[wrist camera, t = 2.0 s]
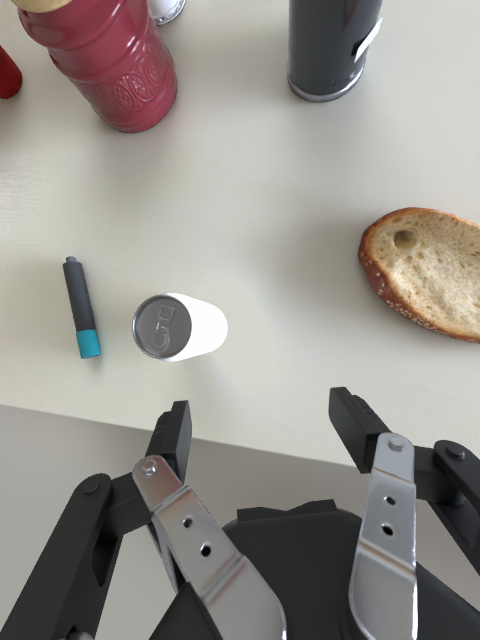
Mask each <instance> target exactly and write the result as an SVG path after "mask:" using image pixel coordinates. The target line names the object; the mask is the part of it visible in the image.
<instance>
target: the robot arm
mask: <svg viewBox="0 0 480 640" xmlns="http://www.w3.org/2000/svg"><path fill="white" fill-rule="evenodd" d="M382 1H383V0H289V40H288V64H287V76H288V81H289V84H290V86H291V88H292V89H293V91H294V92H295V93H296V94H297V95H299V96H300V97H302V98H303V99H306V100H309V101H313V102H325V101H330V100H333V99H336V98H338V97H340V96H342V95H344V94H345V93H347V92H348V91H349V90H350V89H351V88H352V87H353V86H354V85H355V84H356V82H357V81H358V79H359V78H360V76H361V74H362V71H363V68H364V64H365V61H366V55H367V51H368V48H369V45H370V42H371V41H372V39H373V38H374V37H375V35H376V34H377V33H378V31H379V28H380V24H381V21H382V18H383V17H382V18H381V19H380V21H379V22H378V23H377V25H376V21H377V18H378V15H379V11H380V8H381V4H382ZM375 25H376V26H375ZM329 417H330V421H331V423H332V424H333V426H334V428H335V430H336V431H337V433H338V435H339V437H340V438H341V440H342V442H343V443H344V445H345V447H346V449H347V450H348V452H349V454H350V456H351V457H352V459H353V461H354V462H355V464H356V466H357V468H358V469H359V471H360V473H361V474H365V473H370V474H371V477H370V482H369V487H368V493H367V498H366V503H365V508H364V513H363V518H360V517H359V516H357V515H355V514H353V513H351V512H349V511H346V510H343V509H339V508H337V507H336V505H335V503H334V500H333V499H330V500H321V501H312V502H308V503H305V504H303V505H301V506H298V507H296V508H293V509H291V510H288V511H283V510H276V509H270V508H264V507H257V508H247V509H237V517H238V518H237V519H235V520H233V521H231V522H230V523H228V524H226V525H225V526H224V527H222V528H221V527H220V526H219V525H218V523H217V522H216V520H215V519H214V518H213V516H212V515H211V514H210V512H209V511H208V510H207V508H206V507H205V506H204V504H203V503H202V501H201V500H200V499H199V498H198V496H197V495H196V493H195V492H194V491H193V489H192V488H191V487H190V486H186V487H184V480H185V474H186V467H187V461H188V455H189V449H190V442H191V436H192V422H191V415H190V409H189V402H188V400H185V401H174V403H173V406H172V410H171V411H168V412H164V413H163V414H162V415H161V416H160V417H159V419H158V421H157V424H156V428H155V429H154V432H153V435H152V438H151V441H150V444H149V447H148V449H147V452H146V455H145V458H143V459H142V460H140V461H139V462H138V463H137V464H136V465H135V467H134V468H133V471H132V472H130V473H128V474H126V475H123V476H121V477H118V478H115V479H113V480H111V478H110V477H109V476H108V475H107V474H102V473H100V474H95V475H93V476H90V477H88V478H87V479H85V480H84V481H82V482H81V483H80V484H79V485H78V486H77V488H76V489H75V490H74V492H73V494H72V496H71V498H70V500H69V502H68V504H67V505H66V507H65V509H64V511H63V513H62V515H61V517H60V519H59V521H58V523H57V525H56V527H55V528H54V530H53V533H52V534H51V536H50V538H49V540H48V542H47V544H46V546H45V548H44V550H43V552H42V554H41V555H40V557H39V559H38V561H37V563H36V565H35V567H34V569H33V571H32V573H31V575H30V576H29V579H28V580H27V582H26V585H25V586H24V588H23V590H22V592H21V594H20V596H19V598H18V599H17V601H16V603H15V605H14V607H13V609H12V611H11V613H10V615H9V617H8V619H7V621H6V623H5V624H4V626H3V628H2V630H1V632H0V640H94V639H95V635H96V632H97V628H98V625H99V621H100V617H101V614H102V610H103V607H104V603H105V600H106V596H107V592H108V589H109V585H110V582H111V578H112V574H113V571H114V567H115V564H116V560H117V557H118V553H119V549H120V546H121V542H122V538H123V535H124V534H126V533H128V532H131V531H133V530H135V529H137V528H139V527H142V526H144V525H146V527H147V529H148V532H149V534H150V536H151V538H152V540H153V542H154V544H155V546H156V548H157V551H158V553H159V555H160V557H161V559H162V561H163V564H164V566H165V569H166V572H167V575H168V577H169V580H170V582H171V584H172V587H173V589H174V591H175V593H176V597H175V599H174V600H173V602H172V603H171V605H170V606H169V608H168V610H167V611H166V613H165V614H164V616H163V618H162V619H161V621H160V623H159V624H158V625H157V627H156V629H155V630H154V632H153V633H152V635H151V637H150V638H149V640H480V612H479V611H478V610H476V609H475V608H474V607H473V606H471V605H470V604H469V603H468V602H467V601H465V600H464V599H463V598H462V597H460V596H459V595H458V594H457V593H455V592H454V591H453V590H452V589H450V588H449V587H448V586H447V585H445V584H444V583H443V582H442V581H440V580H439V579H438V578H437V577H435V576H434V575H433V574H432V573H430V572H429V571H428V570H426V569H425V568H424V567H423V566H422V565H420V564H419V563H418V562H416V561H415V550H416V549H415V548H416V543H415V542H416V498H417V499H422V500H426V501H427V502H428V503H429V505H430V506H431V507H432V509H433V510H434V512H435V513H436V515H437V516H438V517H439V519H440V520H441V522H442V523H443V525H444V526H445V527H446V529H447V530H448V532H449V533H450V534H451V536H452V537H453V539H454V540H455V542H456V543H457V544H458V546H459V547H460V549H461V550H462V552H463V553H464V554H465V556H466V557H467V559H468V560H469V561H470V563H471V564H472V566H473V567H474V569H475V570H476V571H477V573H478V574H479V576H480V460H479V459H478V458H477V457H476V456H475V455H474V454H473V453H472V452H471V451H470V450H468V449H467V448H465V447H464V446H462V445H460V444H458V443H455V442H452V441H448V440H440V441H437V442H436V443H435V445H434V449H432V448H426V447H419V446H414V445H413V444H412V443H411V442H410V441H409V440H408V439H407V438H405V437H403V436H402V435H399V434H397V433H392V432H391V431H390V430H389V428H388V427H387V426H386V425H385V424H384V423H383V421H382V420H381V419H380V418H379V417H378V416H377V414H375V412H374V411H373V410H372V409H371V408H370V406H369V405H368V404H367V403H366V402H365V400H363V399H361V398H360V397H358V396H357V395H351V393H350V392H349V391H348V390H347V388H346V387H336V388H331V389H330V396H329ZM471 504H472V505H471Z"/></svg>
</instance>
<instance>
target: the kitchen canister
mask: <svg viewBox="0 0 480 640" xmlns="http://www.w3.org/2000/svg"><path fill="white" fill-rule="evenodd" d="M11 1H12V2H13V3H14V4H15V5H16V6H17V10H18V15H19V18H20V21H21V23H22V25H23V27H24V29H25V31H26V32H27V33H28V35H29V36H30V37H31V38H32V39H33V40H34V41H36V42H37V43H39V44H40V45H42V46H44V47H46V48H47V49H48V52H49V55H50V57H51V59H52V61H53V63H54V64H55V66H56V67H57V68H58V69H59V70H60V71H61V72H62V73H63V74H64V75H66V76H67V77H68V78H69V80H70V81H71V82H72V83H73V84H74V85H75V87H76V88H77V89H78V90H79V91H80V92H81V94H82V95H83V96H84V97H85V98H86V99H87V101H88V102H89V103H90V105H91V106H92V108H93V109H94V111H95V112H96V113H97V114H98V115H99V116H100V118H101V119H103V120H104V121H105V122H106V123H108V124H109V125H110V126H111V127H113V128H114V129H116V130H118V131H121V132H125V133H136V132H141V131H144V130H146V129H149V128H151V127H152V126H154V125H155V124H157V123H158V122H159V121H160V120H161V119H162V118H163V117H164V116H165V115H166V113H167V112H168V111H169V109H170V107H171V105H172V103H173V101H174V98H175V95H176V90H177V78H176V73H175V68H174V64H173V60H172V58H171V55H170V53H169V50H168V48H167V47H166V45H165V44H164V42H163V40H162V37H161V35H160V32H159V30H158V28H157V25H156V23H155V20H154V18H153V16H152V13H151V11H150V9H149V6H148V3H147V0H11Z"/></svg>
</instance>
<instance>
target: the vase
mask: <svg viewBox="0 0 480 640" xmlns="http://www.w3.org/2000/svg"><path fill="white" fill-rule="evenodd" d="M147 3H148V6H149V9H150V11H151V13H152V16H153V18H154V20H155V23H156V25H162V24H165V23H167V22H169V21H171V20H172V19H174V18H175V17H176V16H177V15H178V14H179V12H180V11H181V10H182V8H183V6H184V3H185V0H147Z"/></svg>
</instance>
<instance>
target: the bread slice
mask: <svg viewBox="0 0 480 640" xmlns="http://www.w3.org/2000/svg"><path fill="white" fill-rule="evenodd" d="M358 257H359V260H360V262H361V263H362V266H363V267H364V269H365V272H366V274H367V276H368V278H369V281H370V284H371V286H372V288H373V289H374V291H375V292H376V293H377V294H378V295H379V296H380V297H381V298H382V299H383V300H384V301H385V302H386V303H387V304H388V305H389V306H390V307H392V308H393V309H395V310H396V311H397V312H398V313H400V314H401V315H403V316H405V317H407V318H408V319H410V320H411V321H413V322H415V323H417V324H419V325H420V326H421V327H423V328H426V329H429V330H432V331H435V332H438V333H443V334H447V335H448V336H450V337H451V338H454V339H459V340H464V341H467V342H474V343H480V226H478V225H476V224H474V223H472V222H470V221H467V220H464V219H461V218H458V217H456V216H455V215H453V214H449V213H444V212H440V211H437V210H434V209H426V208H416V207H410V208H404V209H399V210H396V211H393V212H391V213H389V214H387V215H385V216H383V217H382V218H380V219H379V220H377V221H376V222H375V223H373V224H372V225H371V226H369V227H368V228H367V229H366V230H365V232H364V233H363V236H362V240H361V244H360V247H359V253H358Z"/></svg>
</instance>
